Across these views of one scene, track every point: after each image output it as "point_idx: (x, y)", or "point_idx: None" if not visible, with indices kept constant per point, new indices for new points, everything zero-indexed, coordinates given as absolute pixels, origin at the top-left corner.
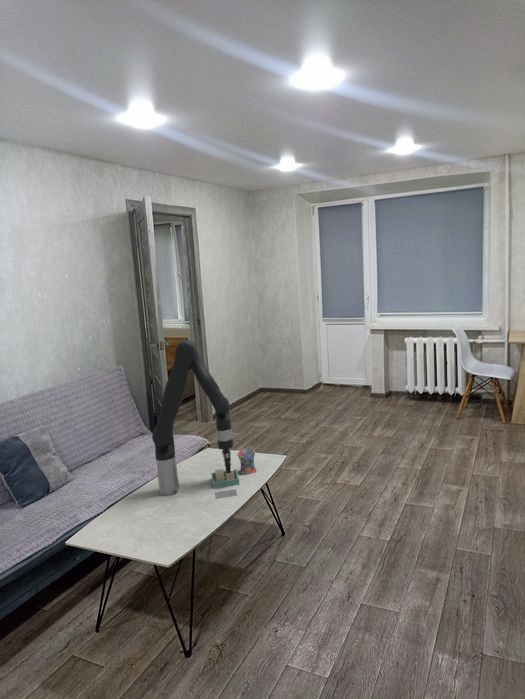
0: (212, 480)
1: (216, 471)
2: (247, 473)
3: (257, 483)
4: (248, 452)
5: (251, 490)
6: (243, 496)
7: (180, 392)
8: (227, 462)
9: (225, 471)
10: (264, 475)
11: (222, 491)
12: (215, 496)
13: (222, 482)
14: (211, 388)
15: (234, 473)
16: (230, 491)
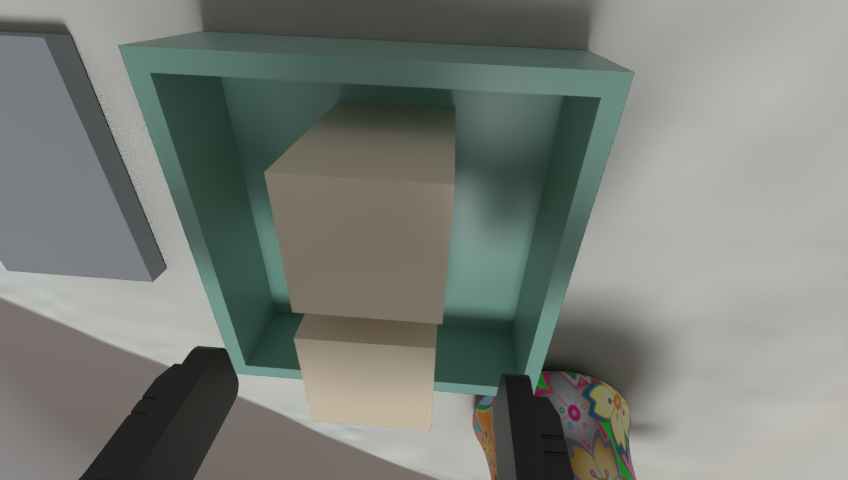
0: (237, 54)
1: (358, 206)
2: (478, 414)
3: (299, 411)
4: None
5: (177, 362)
6: (59, 300)
7: None
8: (504, 471)
9: (357, 328)
10: (425, 462)
11: (88, 149)
12: None
13: (184, 202)
14: None
15: (516, 344)
16: (96, 230)
